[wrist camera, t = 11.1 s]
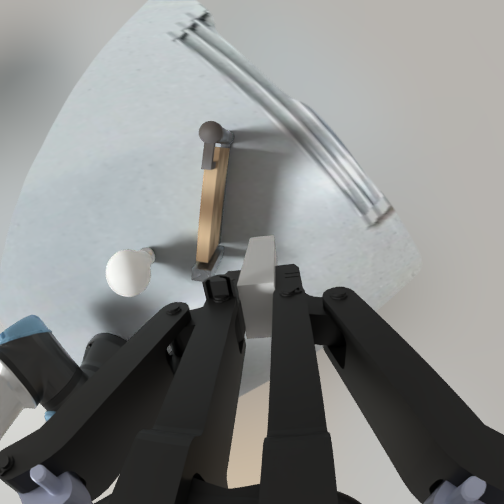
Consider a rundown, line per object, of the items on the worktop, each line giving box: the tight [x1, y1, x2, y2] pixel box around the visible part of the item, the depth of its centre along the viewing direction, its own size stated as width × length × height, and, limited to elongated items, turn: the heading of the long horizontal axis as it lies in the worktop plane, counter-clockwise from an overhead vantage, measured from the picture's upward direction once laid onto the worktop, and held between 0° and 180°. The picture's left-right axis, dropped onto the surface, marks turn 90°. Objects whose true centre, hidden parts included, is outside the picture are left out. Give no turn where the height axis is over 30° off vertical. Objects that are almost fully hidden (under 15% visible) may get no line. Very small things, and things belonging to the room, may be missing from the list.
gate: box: [196, 121, 230, 263], centre depth 33 cm, size 17×2×10 cm, turn 172°
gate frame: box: [192, 128, 234, 282], centre depth 35 cm, size 19×3×9 cm, turn 173°
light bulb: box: [106, 248, 155, 297], centre depth 38 cm, size 7×7×11 cm
